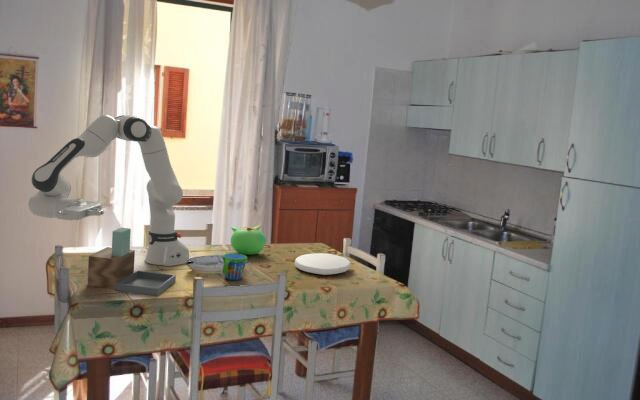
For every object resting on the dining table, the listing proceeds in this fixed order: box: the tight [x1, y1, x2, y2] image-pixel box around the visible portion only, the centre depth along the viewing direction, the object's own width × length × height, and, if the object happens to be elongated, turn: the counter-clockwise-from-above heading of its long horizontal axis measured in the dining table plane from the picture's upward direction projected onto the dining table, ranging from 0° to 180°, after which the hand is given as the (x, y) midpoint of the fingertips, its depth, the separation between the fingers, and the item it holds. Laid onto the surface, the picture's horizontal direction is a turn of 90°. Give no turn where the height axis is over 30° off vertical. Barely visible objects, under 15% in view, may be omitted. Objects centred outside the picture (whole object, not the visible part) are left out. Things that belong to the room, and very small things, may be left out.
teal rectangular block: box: [111, 227, 132, 257], centre depth 243 cm, size 4×8×10 cm, turn 174°
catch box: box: [115, 269, 177, 297], centre depth 244 cm, size 17×20×3 cm
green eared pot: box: [230, 225, 267, 256], centre depth 310 cm, size 18×17×15 cm
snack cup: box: [221, 252, 248, 281], centre depth 266 cm, size 16×10×10 cm
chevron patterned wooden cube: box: [87, 246, 136, 290], centre depth 245 cm, size 12×16×12 cm
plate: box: [294, 252, 351, 276], centre depth 295 cm, size 28×6×27 cm
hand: (101, 213), depth 242 cm, fingers closed
